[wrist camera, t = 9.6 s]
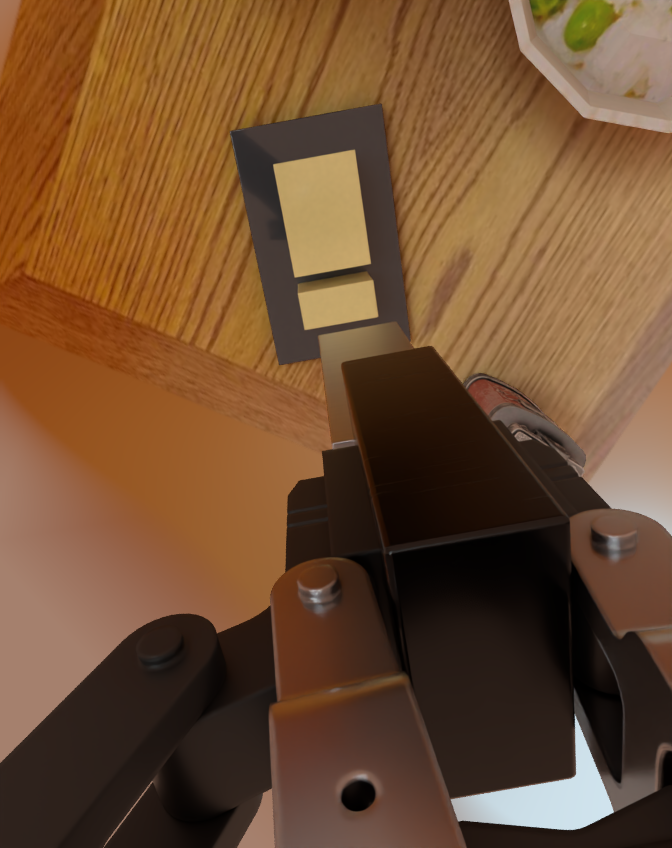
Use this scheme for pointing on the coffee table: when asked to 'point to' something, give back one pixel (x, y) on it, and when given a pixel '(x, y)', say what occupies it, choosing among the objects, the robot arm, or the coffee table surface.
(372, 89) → the coffee table surface
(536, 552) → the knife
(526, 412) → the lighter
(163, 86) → the coffee table surface
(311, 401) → the coffee table surface
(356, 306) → the butter pat
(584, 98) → the bowl
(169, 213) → the coffee table surface
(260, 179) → the butter board
